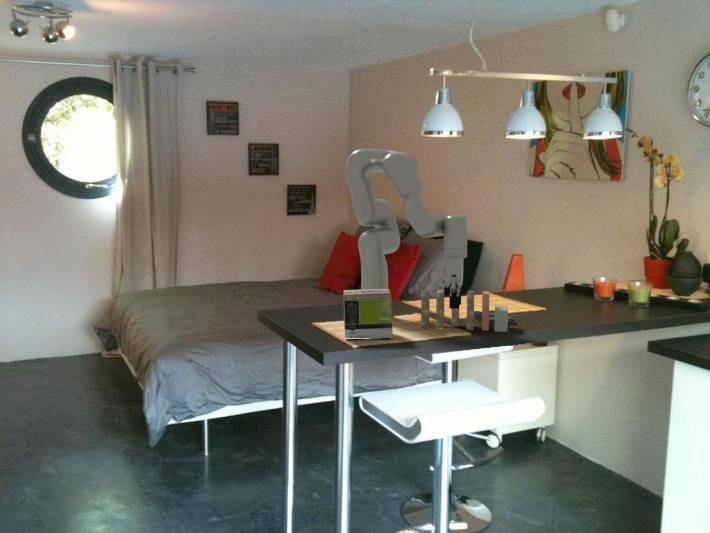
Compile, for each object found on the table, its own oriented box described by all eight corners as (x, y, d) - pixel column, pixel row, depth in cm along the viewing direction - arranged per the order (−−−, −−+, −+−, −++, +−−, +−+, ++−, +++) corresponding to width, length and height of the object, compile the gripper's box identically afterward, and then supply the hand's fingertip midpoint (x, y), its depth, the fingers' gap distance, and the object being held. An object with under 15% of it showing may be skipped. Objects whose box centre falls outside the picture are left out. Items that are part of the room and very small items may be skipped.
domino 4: (466, 329, 236) (466, 293, 234) (468, 325, 242) (468, 290, 240) (472, 330, 235) (473, 293, 234) (474, 326, 241) (474, 290, 240)
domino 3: (451, 325, 237) (451, 290, 235) (453, 322, 243) (453, 287, 241) (457, 326, 236) (457, 290, 235) (459, 322, 242) (459, 287, 241)
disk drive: (472, 318, 256) (485, 327, 242) (472, 311, 256) (485, 318, 241) (500, 317, 258) (515, 325, 243) (500, 309, 257) (515, 317, 243)
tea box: (390, 332, 233) (389, 287, 231) (392, 339, 223) (392, 293, 221) (343, 333, 233) (343, 288, 231) (344, 340, 223) (343, 294, 221)
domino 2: (436, 328, 238) (436, 293, 237) (438, 324, 244) (438, 290, 242) (442, 328, 238) (442, 293, 236) (444, 325, 243) (444, 290, 242)
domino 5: (482, 330, 235) (482, 294, 233) (483, 326, 240) (483, 291, 239) (488, 330, 234) (488, 294, 233) (489, 326, 240) (489, 291, 238)
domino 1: (421, 328, 239) (421, 292, 238) (423, 324, 245) (423, 289, 243) (427, 328, 239) (427, 292, 237) (429, 324, 245) (429, 289, 243)
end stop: (494, 331, 233) (494, 310, 232) (495, 326, 241) (495, 305, 240) (507, 331, 232) (507, 310, 231) (507, 326, 240) (507, 305, 239)
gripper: (446, 249, 246) (446, 301, 248) (441, 255, 229) (441, 311, 231) (468, 250, 244) (468, 302, 246) (464, 255, 227) (464, 311, 230)
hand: (455, 306), depth 239 cm, fingers closed on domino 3, 6 cm apart
